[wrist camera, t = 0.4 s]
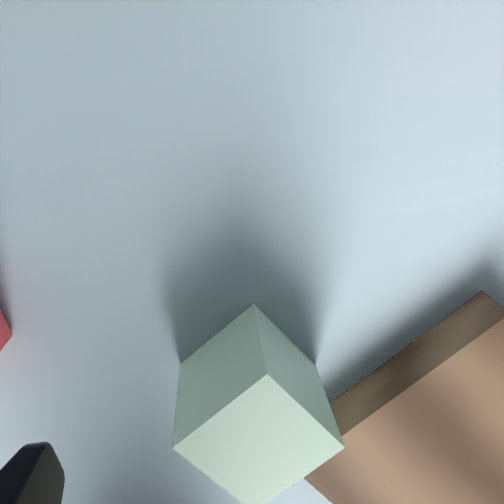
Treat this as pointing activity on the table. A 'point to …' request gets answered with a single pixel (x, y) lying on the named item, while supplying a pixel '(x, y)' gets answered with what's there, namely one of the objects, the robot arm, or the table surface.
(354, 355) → the table surface
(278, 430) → the sage block
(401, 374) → the walnut base
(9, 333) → the ink cartridge box
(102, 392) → the table surface
